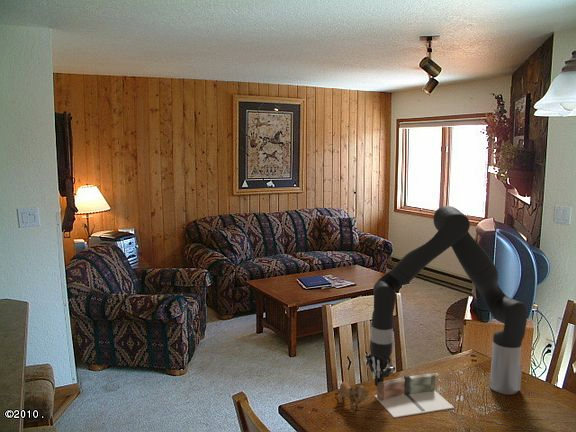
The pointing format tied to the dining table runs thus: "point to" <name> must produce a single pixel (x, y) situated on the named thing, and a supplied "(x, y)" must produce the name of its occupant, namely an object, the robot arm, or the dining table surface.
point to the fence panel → (390, 388)
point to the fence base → (419, 383)
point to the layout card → (415, 404)
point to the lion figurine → (352, 394)
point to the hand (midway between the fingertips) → (378, 386)
